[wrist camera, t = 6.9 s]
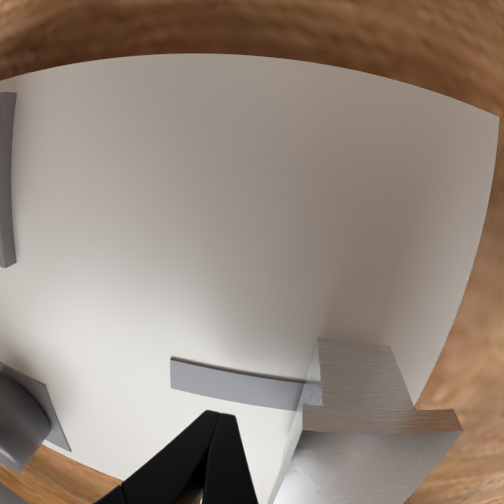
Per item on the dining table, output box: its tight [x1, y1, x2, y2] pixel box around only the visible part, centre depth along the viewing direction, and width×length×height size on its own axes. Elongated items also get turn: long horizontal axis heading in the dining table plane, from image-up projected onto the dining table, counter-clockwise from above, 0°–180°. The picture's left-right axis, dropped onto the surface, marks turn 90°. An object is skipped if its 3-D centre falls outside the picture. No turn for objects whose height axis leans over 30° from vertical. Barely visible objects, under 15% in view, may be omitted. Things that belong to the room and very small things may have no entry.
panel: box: [0, 54, 500, 504], centre depth 10 cm, size 19×18×3 cm
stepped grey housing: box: [267, 338, 463, 504], centre depth 7 cm, size 3×6×4 cm, turn 173°
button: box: [0, 374, 51, 472], centre depth 10 cm, size 4×4×3 cm
